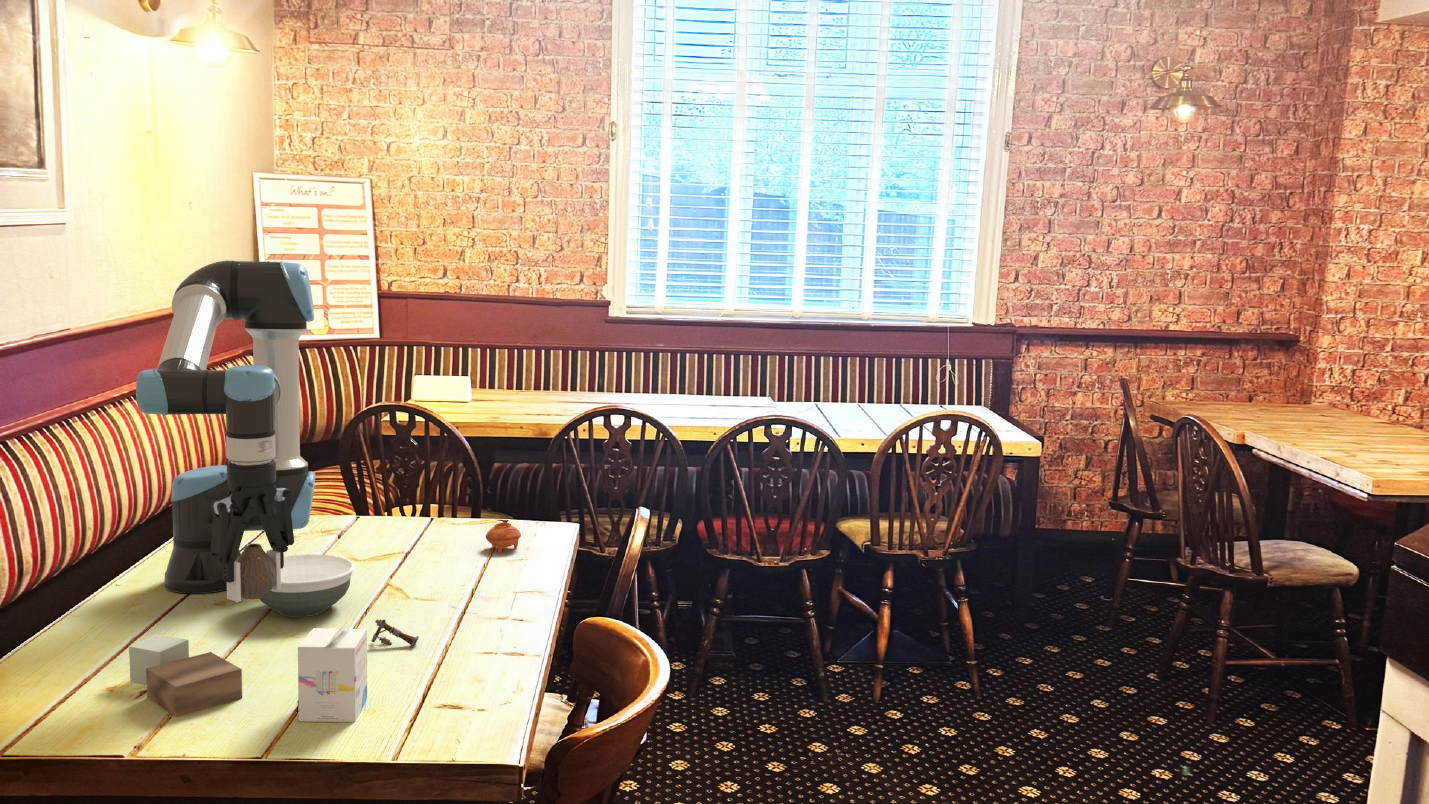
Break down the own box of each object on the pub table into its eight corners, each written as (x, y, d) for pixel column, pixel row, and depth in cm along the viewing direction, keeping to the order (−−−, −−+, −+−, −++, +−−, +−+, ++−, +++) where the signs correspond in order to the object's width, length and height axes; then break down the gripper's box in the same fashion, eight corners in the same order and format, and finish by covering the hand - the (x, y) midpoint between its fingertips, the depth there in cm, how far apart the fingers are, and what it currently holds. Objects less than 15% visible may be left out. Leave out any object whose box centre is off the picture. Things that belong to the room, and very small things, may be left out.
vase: (260, 604, 188) (259, 553, 186) (222, 599, 189) (221, 548, 188) (284, 591, 194) (283, 542, 193) (247, 587, 196) (246, 537, 194)
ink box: (312, 699, 176) (311, 615, 174) (368, 699, 177) (368, 616, 175) (297, 722, 168) (296, 635, 166) (355, 722, 169) (355, 636, 167)
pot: (520, 553, 259) (513, 525, 258) (487, 560, 259) (480, 532, 258) (526, 543, 267) (519, 515, 266) (494, 549, 267) (487, 522, 266)
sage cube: (130, 682, 180) (129, 646, 179) (159, 669, 186) (158, 634, 185) (160, 688, 178) (159, 652, 177) (189, 675, 184) (188, 639, 183)
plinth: (147, 699, 174) (145, 668, 174) (211, 681, 182) (210, 651, 181) (176, 719, 168) (175, 686, 167) (242, 700, 176) (241, 669, 175)
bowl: (255, 631, 204) (254, 587, 203) (245, 600, 221) (244, 559, 219) (363, 619, 213) (362, 576, 212) (345, 590, 229) (344, 550, 228)
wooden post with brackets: (369, 636, 202) (379, 614, 201) (409, 657, 201) (419, 635, 201) (365, 640, 200) (375, 618, 199) (405, 660, 200) (416, 638, 199)
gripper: (209, 473, 177) (213, 614, 181) (316, 454, 194) (318, 584, 198) (181, 466, 182) (186, 604, 185) (288, 447, 198) (290, 575, 202)
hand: (254, 593), depth 192 cm, fingers closed on vase, 7 cm apart
